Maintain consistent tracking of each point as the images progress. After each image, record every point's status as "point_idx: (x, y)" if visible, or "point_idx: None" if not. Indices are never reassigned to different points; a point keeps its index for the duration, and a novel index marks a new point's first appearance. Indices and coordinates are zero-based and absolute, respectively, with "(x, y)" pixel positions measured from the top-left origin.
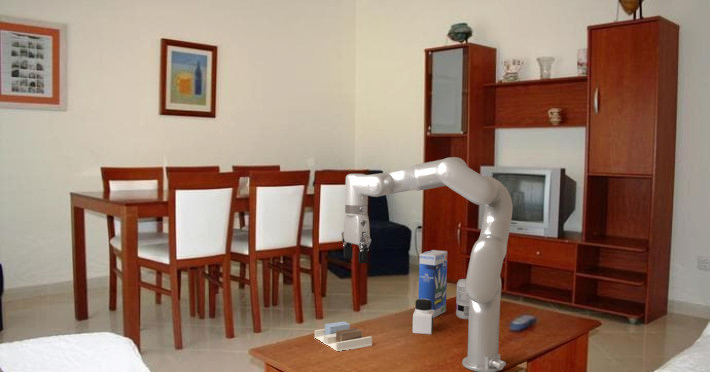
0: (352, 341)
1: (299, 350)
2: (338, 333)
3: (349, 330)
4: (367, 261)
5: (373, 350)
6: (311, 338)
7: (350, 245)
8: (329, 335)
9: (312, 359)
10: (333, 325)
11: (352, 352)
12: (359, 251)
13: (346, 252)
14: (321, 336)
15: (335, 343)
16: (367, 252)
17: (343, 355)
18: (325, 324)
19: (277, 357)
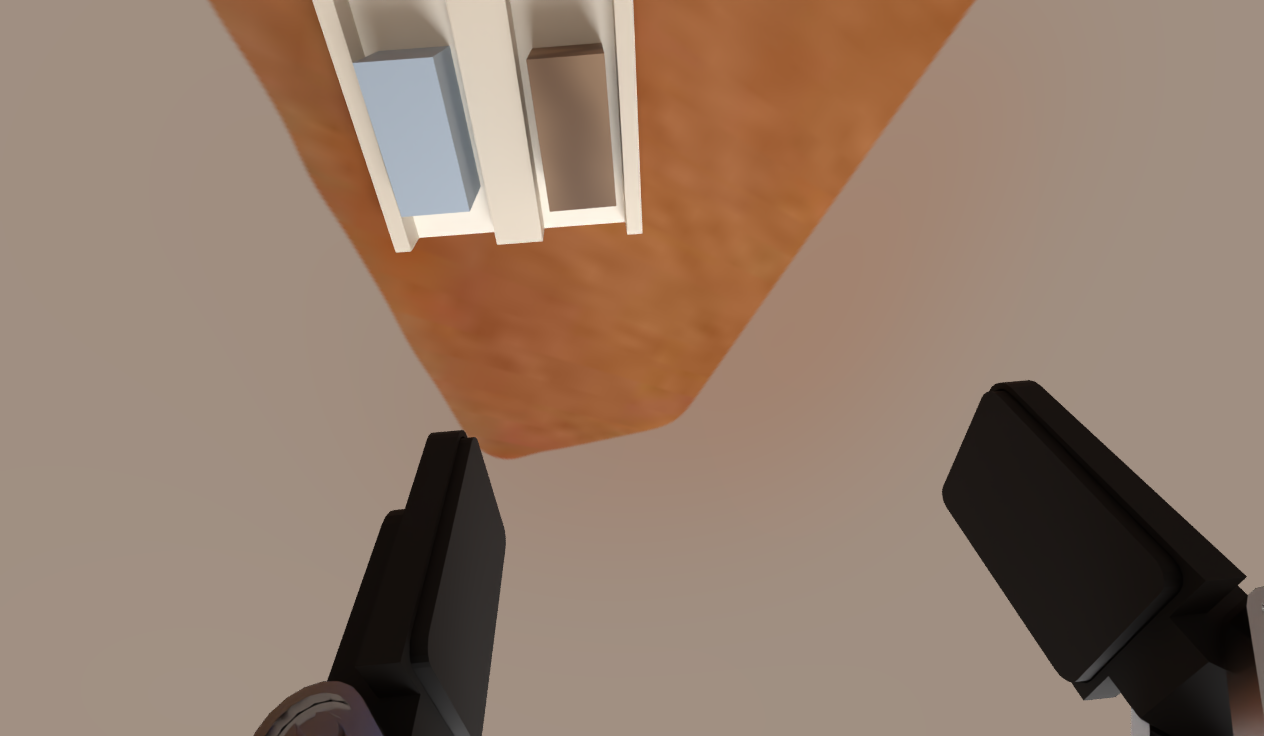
0: (638, 137)
1: (550, 344)
2: (576, 206)
3: (571, 133)
4: (1038, 387)
5: (705, 16)
6: None
7: (409, 733)
8: (507, 216)
9: (669, 335)
10: (440, 180)
11: (676, 148)
12: (1108, 697)
13: (489, 619)
14: None
15: None
16: (1196, 541)
17: (691, 208)
18: (406, 215)
19: (592, 424)
